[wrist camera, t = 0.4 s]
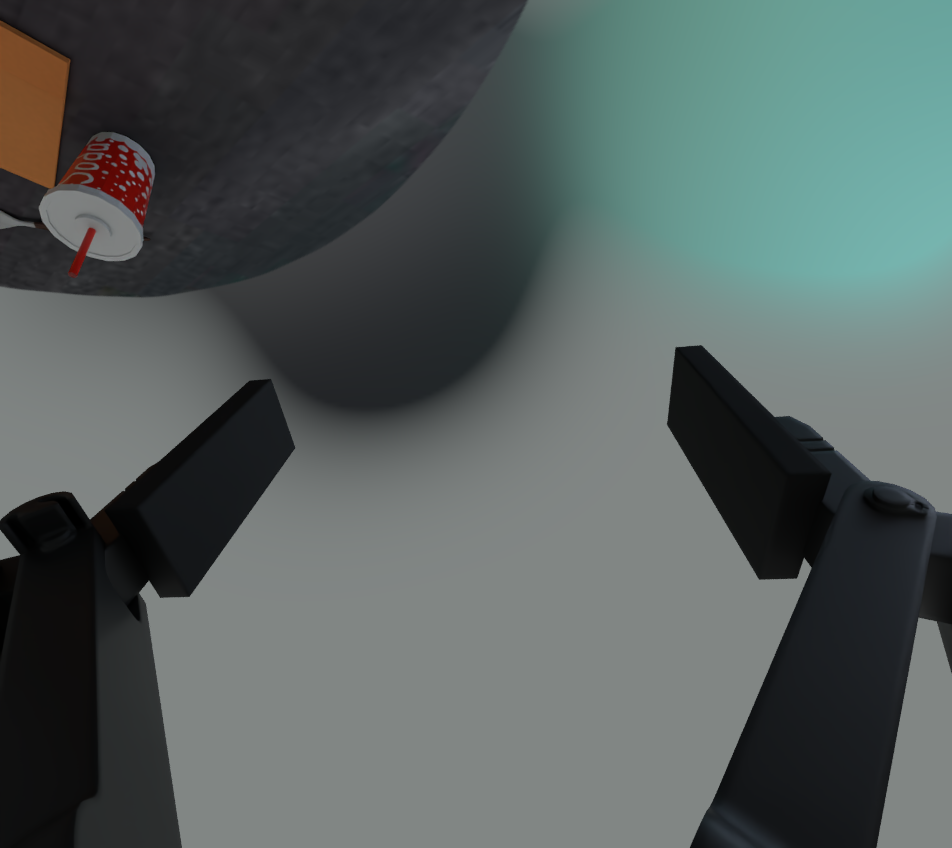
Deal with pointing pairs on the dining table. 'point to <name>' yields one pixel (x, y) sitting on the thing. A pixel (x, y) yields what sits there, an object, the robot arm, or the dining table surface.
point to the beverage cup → (102, 200)
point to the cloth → (31, 106)
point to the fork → (25, 223)
